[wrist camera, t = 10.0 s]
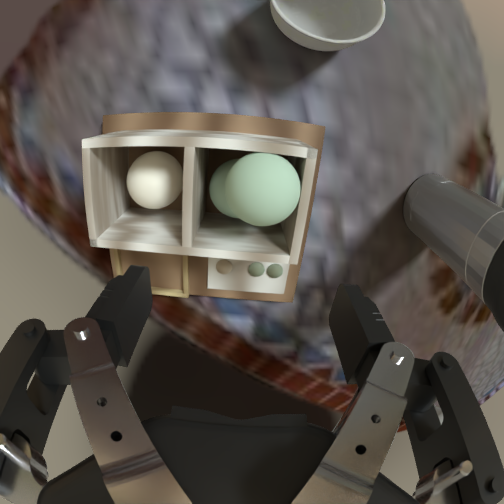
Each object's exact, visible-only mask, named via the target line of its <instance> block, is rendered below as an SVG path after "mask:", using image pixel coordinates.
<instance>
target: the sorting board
mask: <svg viewBox="0 0 504 504" xmlns="http://www.w3.org/2000/svg"><path fill="white" fill-rule="evenodd" d="M324 133H325V126H319V125H314V124H308V123H302V122H295V121H288V120H281V119H273V118H265V117H256V116H245V115H233V114H218V113H193V112H154V113H130V114H115V115H103V134H102V135H99V136H94V137H90V138H86V139H82V163H83V182H84V196H85V206H86V215H87V224H88V231H89V238H90V245H91V246H92V247H102V248H109V249H110V256H111V263H112V269H113V275H114V278H115V277H116V276H118V275H124V273H125V272H126V271H127V269H128V268H129V266H130V265H138V266H147V267H148V268H149V271H150V281H151V290H152V294H158V295H167V296H175V297H185V298H188V297H189V294H191V295H201V296H212V297H223V298H235V299H248V300H262V301H277V302H293V298H294V293H295V289H296V285H297V280H298V276H299V271H300V266H301V262H302V257H303V252H304V247H305V242H306V237H307V232H308V227H309V222H310V217H311V211H312V206H313V200H314V195H315V189H316V183H317V178H318V172H319V165H320V159H321V153H322V146H323V140H324ZM152 151H162V152H165V153H168V154H170V155H172V156H173V157H174V158H175V159H176V160H177V161H178V162H179V163H180V165H181V167H182V170H183V188H182V190H181V192H180V194H179V196H178V197H177V199H176V200H175V201H174V202H172V203H171V204H170V205H168V206H166V207H163V208H160V209H148V208H145V207H142V206H141V205H139V204H138V203H136V202H135V201H134V200H133V199H132V197H131V196H130V194H129V191H128V188H127V174H128V171H129V169H130V167H131V165H132V164H133V162H134V161H135V160H136V159H137V158H138V157H140V156H141V155H143V154H145V153H147V152H152ZM254 152H264V153H273V154H277V155H279V156H281V157H283V158H284V159H286V160H287V161H288V162H289V163H290V164H291V165H292V166H293V167H294V169H295V170H296V172H297V174H298V177H299V180H300V197H299V201H298V204H297V206H296V208H295V209H294V211H293V212H292V213H291V214H290V215H289V216H288V217H287V218H286V219H284V220H283V221H281V222H279V223H277V224H274V225H270V226H255V225H251V224H249V223H246V222H244V221H243V220H241V219H240V218H232V217H229V216H227V215H225V214H223V213H221V212H220V211H219V210H218V209H217V208H216V207H215V205H214V204H213V202H212V200H211V197H210V192H209V186H210V180H211V178H212V175H213V174H214V172H215V171H216V169H217V168H218V167H219V166H220V165H222V164H223V163H225V162H227V161H229V160H232V159H241V158H242V157H244V156H246V155H248V154H251V153H254Z"/></svg>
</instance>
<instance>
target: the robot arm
mask: <svg viewBox="0 0 504 504" xmlns="http://www.w3.org/2000/svg"><path fill="white" fill-rule="evenodd" d="M403 215H404V220H405V222H406V225H407V227H408V228H409V229H410V230H411V231H412V232H413V233H414V234H415V235H416V236H417V237H418V238H420V239H421V240H422V241H423V242H424V243H425V244H426V245H427V246H428V247H429V248H430V249H431V250H433V251H434V252H435V253H436V254H437V255H438V256H439V257H440V258H441V259H442V260H443V261H444V262H445V263H446V264H447V265H448V266H449V267H450V268H451V269H452V270H453V271H454V272H455V273H456V274H457V275H458V276H459V277H460V278H461V279H462V280H463V281H464V282H465V283H466V284H467V285H468V286H469V287H470V288H471V289H472V290H473V291H474V292H475V293H476V294H477V296H478V297H479V298H480V299H481V300H482V301H483V302H484V303H485V304H486V305H487V307H488V308H489V309H490V310H491V311H492V313H493V315H494V317H495V319H496V321H497V323H498V325H499V326H500V328H501V329H502V330H503V332H504V209H503V208H502V207H500V206H498V205H496V204H495V203H493V202H491V201H489V200H487V199H486V198H484V197H482V196H480V195H478V194H476V193H474V192H473V191H471V190H469V189H467V188H465V187H463V186H461V185H459V184H457V183H455V182H453V181H451V180H449V179H446V178H444V177H442V176H440V175H437V174H427V175H424V176H422V177H420V178H419V179H417V180H416V181H415V182H414V183H413V184H412V186H411V187H410V189H409V190H408V192H407V194H406V197H405V200H404V206H403ZM151 307H152V290H151V281H150V271H149V268H148V267H147V266H138V265H130V266H129V268H128V269H127V271H126V272H125V273H124V275H118V276H116V277H115V278H113V279H112V280H110V281H109V283H108V284H107V286H106V287H105V288H104V290H103V291H102V293H101V294H100V297H98V298H97V300H96V302H95V303H94V304H93V306H92V307H91V309H90V311H89V312H88V314H87V315H86V316H85V317H81V318H77V319H74V320H72V321H71V322H70V323H68V324H67V325H66V327H65V329H64V330H47V329H46V327H45V324H44V323H43V322H42V321H41V320H39V319H29V320H26V321H24V322H22V323H21V324H20V325H19V326H18V327H17V328H16V330H15V331H14V333H13V334H12V336H11V337H10V339H9V340H8V342H7V343H6V345H5V346H4V348H3V350H2V351H1V353H0V497H1V498H3V499H6V500H8V501H10V502H12V503H14V504H497V503H498V502H499V501H501V500H502V498H503V497H504V469H503V465H502V463H501V459H500V456H499V453H498V450H497V448H496V445H495V442H494V440H493V437H492V434H491V432H490V429H489V427H488V425H487V422H486V419H485V417H484V415H483V412H482V410H481V408H480V406H479V403H478V401H477V399H476V397H475V395H474V393H473V391H472V389H471V386H470V384H469V382H468V380H467V378H466V376H465V374H464V373H463V371H462V369H461V367H460V365H459V363H458V361H457V360H456V359H455V358H454V357H453V356H452V355H450V354H448V353H446V352H437V353H435V354H434V355H433V357H432V358H431V360H430V361H428V360H423V359H418V358H414V355H413V353H412V352H411V350H410V349H409V348H408V347H406V346H405V345H403V344H401V343H398V342H395V340H394V338H393V336H392V334H391V332H390V331H389V329H388V327H387V325H386V323H385V321H383V317H382V315H381V314H380V312H379V310H378V308H377V306H376V304H375V303H373V302H372V301H371V300H370V299H369V298H368V297H364V295H363V294H362V292H361V290H360V288H359V286H358V285H348V284H341V285H340V286H339V287H338V290H337V293H336V296H335V299H334V303H333V306H332V309H331V312H330V316H329V325H330V329H331V332H332V335H333V338H334V341H335V345H336V348H337V351H338V355H339V358H340V361H341V365H342V368H343V372H344V375H345V379H346V382H347V384H358V390H357V391H356V393H355V395H354V397H353V398H352V400H351V402H350V404H349V405H348V407H347V409H346V411H345V412H344V414H343V416H342V417H341V419H340V421H339V422H338V424H337V425H336V427H335V429H334V430H333V431H332V432H330V431H329V430H327V429H325V428H323V427H320V426H317V425H314V424H311V423H307V418H306V414H273V415H268V416H263V417H258V418H252V419H246V420H236V419H232V418H229V417H226V416H223V415H219V414H216V413H213V412H210V411H207V410H201V409H193V408H186V407H179V406H172V411H171V414H166V415H160V416H156V417H152V418H149V419H147V420H144V421H142V422H140V420H139V418H138V416H137V414H136V412H135V410H134V408H133V406H132V404H131V402H130V400H129V398H128V396H127V394H126V391H125V389H124V387H123V385H122V383H121V380H120V378H119V376H118V373H117V371H116V368H117V366H118V365H119V366H124V367H128V364H129V362H130V359H131V356H132V354H133V351H134V349H135V347H136V344H137V342H138V339H139V337H140V334H141V332H142V330H143V327H144V325H145V323H146V320H147V318H148V316H149V313H150V311H151ZM33 372H35V375H34V377H33V379H32V381H31V383H30V385H29V388H28V389H27V384H28V382H29V380H30V378H31V376H32V374H33ZM67 385H71V387H72V391H73V394H74V398H75V401H76V405H77V408H78V411H79V414H80V417H81V420H82V423H83V426H84V429H85V432H86V435H87V437H88V440H89V443H90V445H91V448H92V450H93V453H94V454H93V455H91V456H90V457H88V458H86V459H85V460H83V461H82V462H80V463H79V464H77V465H76V466H74V467H72V468H71V469H69V470H67V471H66V472H64V473H62V474H61V475H59V476H57V477H56V478H54V479H52V480H50V481H49V482H47V478H48V472H47V465H46V461H45V459H44V457H43V456H42V454H43V450H44V447H45V444H46V441H47V438H48V434H49V432H50V429H51V426H52V423H53V420H54V417H55V415H56V412H57V409H58V407H59V404H60V401H61V399H62V396H63V394H64V392H65V389H66V387H67ZM26 389H27V390H26ZM437 400H438V403H439V405H440V408H441V410H442V413H443V422H442V424H441V423H440V420H439V417H438V415H437V412H436V409H435V406H434V404H435V403H436V401H437ZM402 416H403V417H404V420H405V424H406V427H407V431H408V434H409V438H410V441H411V445H412V449H413V453H414V457H415V461H416V466H417V469H418V474H419V479H420V480H419V481H418V483H417V485H416V491H415V492H414V493H413V496H410V495H409V494H408V493H406V492H405V491H404V490H402V489H401V488H400V487H398V486H397V485H396V484H394V483H393V482H392V481H391V480H389V479H388V478H387V477H385V476H384V475H383V474H382V473H380V472H379V471H380V469H381V467H382V465H383V463H384V460H385V458H386V456H387V454H388V451H389V449H390V447H391V444H392V442H393V440H394V437H395V435H396V432H397V429H398V427H399V424H400V421H401V419H402Z"/></svg>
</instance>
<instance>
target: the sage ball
mask: <svg viewBox="0 0 504 504" xmlns="http://www.w3.org/2000/svg"><path fill="white" fill-rule="evenodd" d="M225 196H226V200H227V203H228V205H229V207H230V208H231V210H232V211H233V213H234V214H235V215H236V216H237V217H238V218H240V219H241V220H243V221H244V222H246V223H249V224H251V225H255V226H270V225H274V224H277V223H279V222H281V221H283V220H284V219H286V218H287V217H288V216H289V215H290V214H291V213H292V212H293V211H294V209H295V208H296V206H297V204H298V201H299V197H300V180H299V177H298V174H297V172H296V170H295V169H294V167H293V166H292V165H291V164H290V163H289V162H288V161H287V160H286V159H284V158H283V157H281V156H279V155H277V154H273V153H264V152H254V153H251V154H248V155H246V156H244V157H242V158H241V159H239V160H238V161H237V162H236V163H235V164H234V165H233V166H232V168H231V169H230V171H229V173H228V175H227V178H226V182H225Z"/></svg>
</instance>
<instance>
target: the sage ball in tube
mask: <svg viewBox="0 0 504 504" xmlns="http://www.w3.org/2000/svg"><path fill="white" fill-rule="evenodd" d="M238 160H239V159H232V160H229V161H227V162H225V163H223V164H222V165H220V166H219V167H218V168H217V169H216V171H215V172H214V174H213V175H212V178H211V180H210V186H209V192H210V197H211V200H212V202H213V204H214V205H215V207H216V208H217V209H218V210H219V211H220V212H221V213H223V214H225V215H227V216H229V217H232V218H238V217H237V216H236V215H235V214H234V213H233V211H232V210H231V208H230V207H229V205H228V203H227V200H226V196H225V182H226V178H227V175H228V173H229V171H230V169H231V168H232V166H233V165H234V164H235V163H236V162H237V161H238Z"/></svg>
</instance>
